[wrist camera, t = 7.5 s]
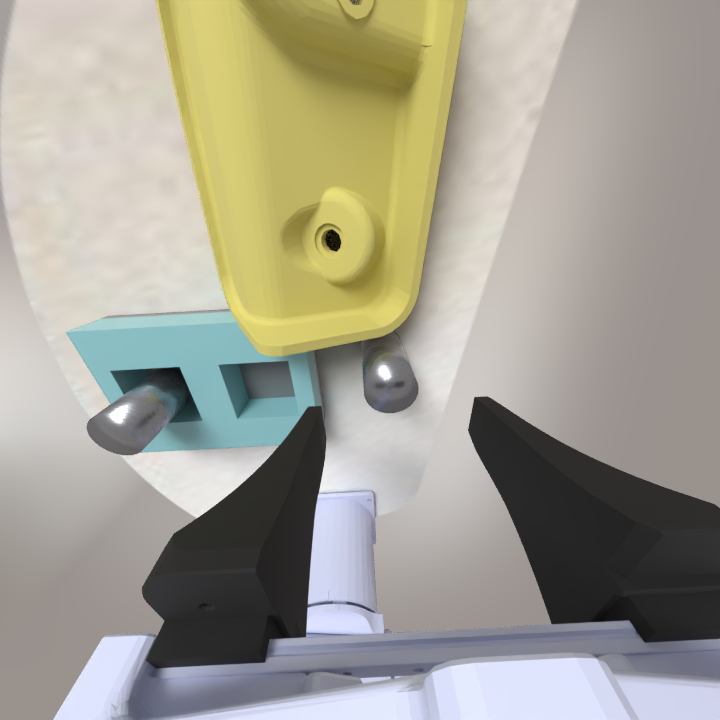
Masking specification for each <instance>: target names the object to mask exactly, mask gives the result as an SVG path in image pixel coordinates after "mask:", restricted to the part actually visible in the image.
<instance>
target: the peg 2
mask: <svg viewBox="0 0 720 720" xmlns="http://www.w3.org/2000/svg"><path fill="white" fill-rule="evenodd" d="M361 352H362V367H363V383H364V396H365V399H366V401H367V403H368V404H369V405H370V406H371V407H372V408H374V409H375V410H377V411H380V412H384V413H395V412H399V411H402V410H404V409H406V408H407V407H409V406H410V405H411V404H412V403H413V402H414V401H415V399H416V397H417V394H418V383H417V381H416V378H415V376H414V373H413V371H412V368H411V366H410V363H409V361H408V359H407V356H406V354H405V351H404V349H403V346H402V344H401V341H400V339H399V337H398V335H397V334H396V333H395V332H394V331H392V332H391V333H389V334H386V335H384V336H382V337H377V338H372V339H367V340H362V343H361Z"/></svg>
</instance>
